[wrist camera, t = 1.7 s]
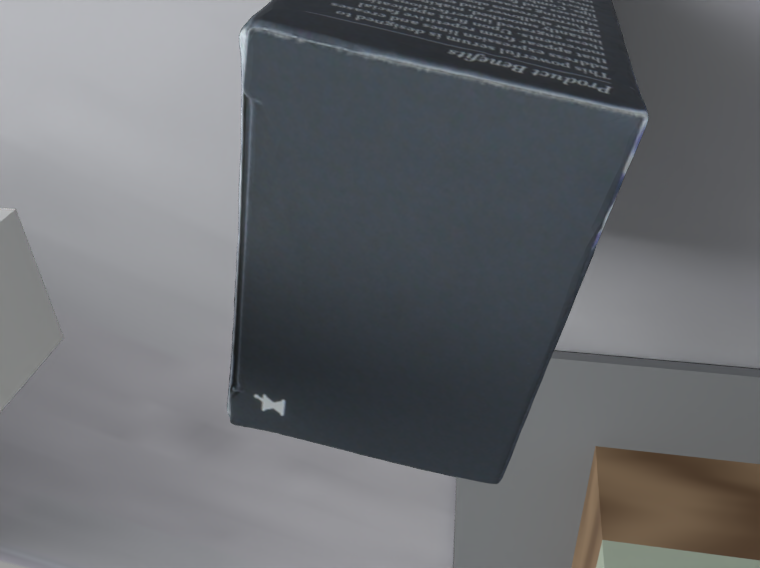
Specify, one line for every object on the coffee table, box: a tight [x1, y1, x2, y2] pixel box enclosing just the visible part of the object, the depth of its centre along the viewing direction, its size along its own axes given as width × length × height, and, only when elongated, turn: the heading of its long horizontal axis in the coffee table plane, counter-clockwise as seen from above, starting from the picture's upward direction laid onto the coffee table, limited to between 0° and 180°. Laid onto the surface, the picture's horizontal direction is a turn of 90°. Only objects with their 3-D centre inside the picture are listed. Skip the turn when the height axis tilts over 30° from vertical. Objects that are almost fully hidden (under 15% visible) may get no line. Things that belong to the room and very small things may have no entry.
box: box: [227, 0, 649, 484], centre depth 16 cm, size 8×6×11 cm
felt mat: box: [453, 351, 760, 568], centre depth 28 cm, size 15×15×1 cm
